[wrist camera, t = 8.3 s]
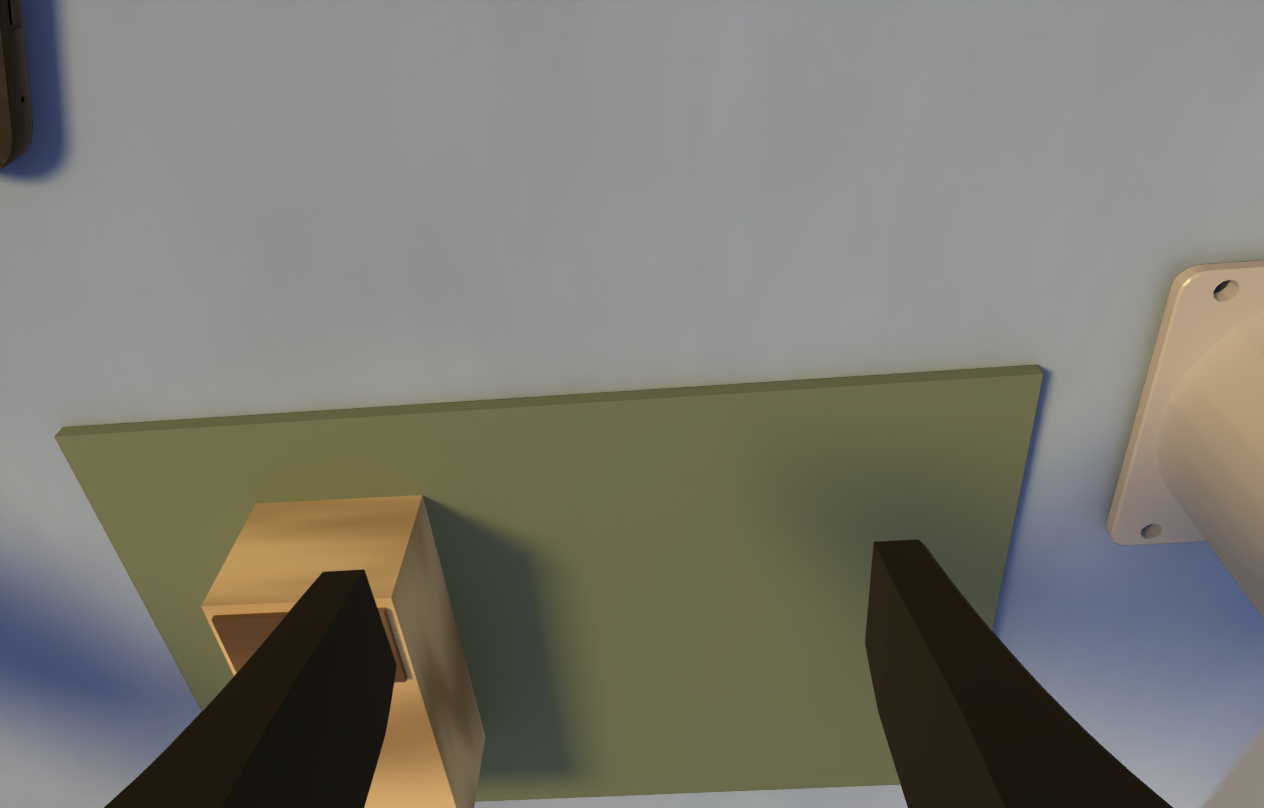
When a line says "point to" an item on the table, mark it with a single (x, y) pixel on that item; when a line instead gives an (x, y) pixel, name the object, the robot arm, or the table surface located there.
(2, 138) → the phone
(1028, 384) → the rubber mat
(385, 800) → the wooden cubby box
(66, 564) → the table surface
